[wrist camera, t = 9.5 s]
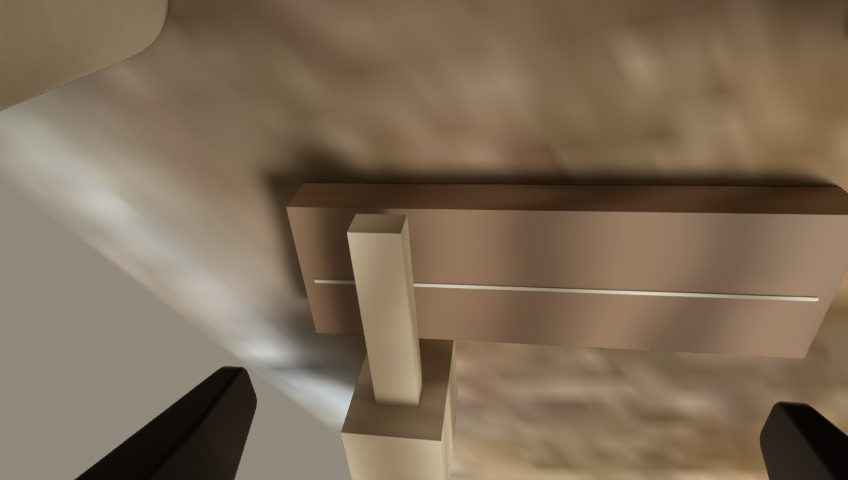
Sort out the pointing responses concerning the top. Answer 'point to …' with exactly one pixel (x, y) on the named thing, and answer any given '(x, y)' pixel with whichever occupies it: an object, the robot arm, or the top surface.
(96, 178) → the top surface
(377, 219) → the gauge
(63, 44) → the candle
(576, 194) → the board
